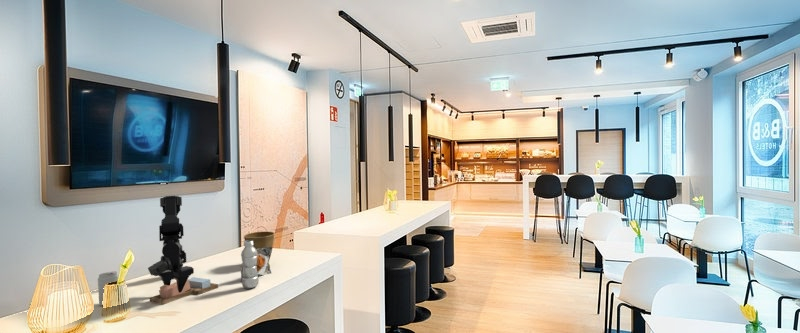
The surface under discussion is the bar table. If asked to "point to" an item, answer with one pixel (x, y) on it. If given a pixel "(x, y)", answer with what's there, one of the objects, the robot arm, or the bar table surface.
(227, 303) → the bar table surface
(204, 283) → the light blue rectangular block
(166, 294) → the block
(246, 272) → the plastic bottle
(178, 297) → the jig
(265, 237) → the plant pot
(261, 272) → the meal
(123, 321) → the bar table surface
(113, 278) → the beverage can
